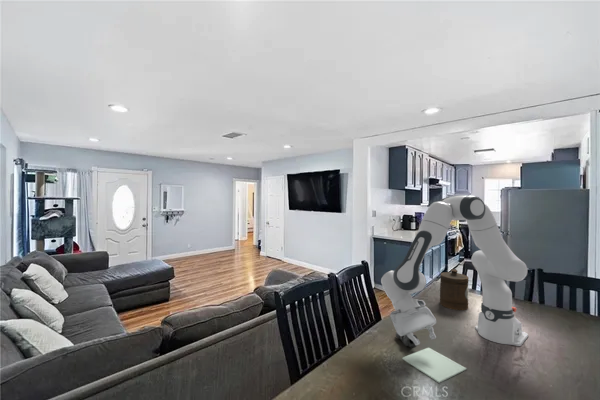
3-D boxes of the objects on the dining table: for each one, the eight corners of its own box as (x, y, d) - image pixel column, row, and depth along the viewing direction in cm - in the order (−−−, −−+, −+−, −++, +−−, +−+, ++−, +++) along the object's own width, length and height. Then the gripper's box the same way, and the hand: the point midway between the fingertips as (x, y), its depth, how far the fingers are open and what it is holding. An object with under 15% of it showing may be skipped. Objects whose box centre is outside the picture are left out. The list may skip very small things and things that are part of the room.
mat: (428, 348, 116) (428, 347, 116) (466, 369, 102) (466, 368, 102) (402, 358, 108) (402, 357, 108) (439, 383, 94) (439, 381, 94)
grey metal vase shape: (417, 350, 114) (400, 342, 126) (419, 335, 116) (402, 329, 128) (405, 346, 114) (389, 338, 125) (408, 331, 115) (392, 325, 127)
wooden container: (473, 310, 155) (474, 272, 155) (447, 310, 155) (448, 272, 155) (459, 300, 170) (459, 265, 170) (435, 300, 170) (435, 265, 170)
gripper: (392, 309, 108) (412, 345, 100) (426, 300, 118) (447, 332, 109) (384, 316, 112) (403, 351, 104) (417, 306, 122) (437, 338, 113)
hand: (426, 341), depth 107 cm, fingers open, 8 cm apart
